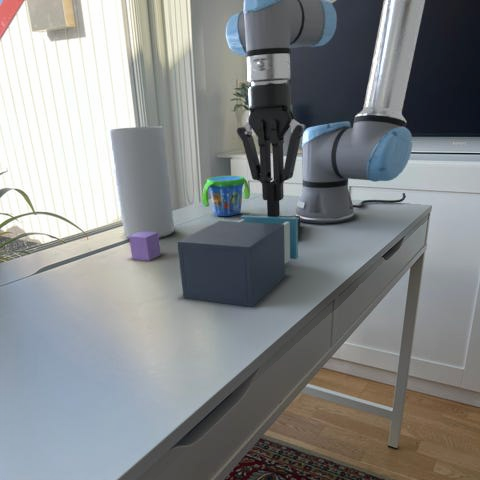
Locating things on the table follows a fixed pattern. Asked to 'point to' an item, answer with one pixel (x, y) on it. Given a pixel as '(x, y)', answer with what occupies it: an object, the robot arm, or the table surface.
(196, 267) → the slate grey box
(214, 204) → the snack cup
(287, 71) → the robot arm
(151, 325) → the table surface
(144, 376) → the table surface
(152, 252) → the purple block
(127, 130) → the cylinder vase
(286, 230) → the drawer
